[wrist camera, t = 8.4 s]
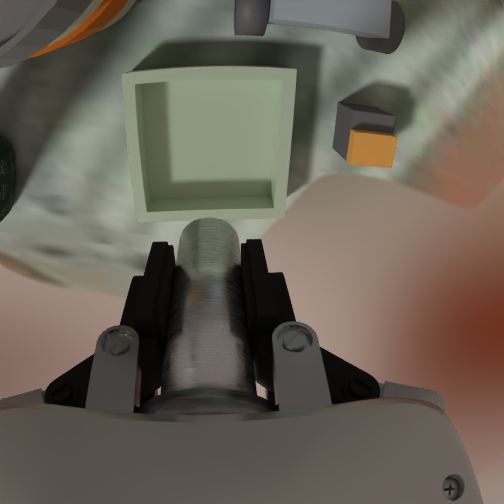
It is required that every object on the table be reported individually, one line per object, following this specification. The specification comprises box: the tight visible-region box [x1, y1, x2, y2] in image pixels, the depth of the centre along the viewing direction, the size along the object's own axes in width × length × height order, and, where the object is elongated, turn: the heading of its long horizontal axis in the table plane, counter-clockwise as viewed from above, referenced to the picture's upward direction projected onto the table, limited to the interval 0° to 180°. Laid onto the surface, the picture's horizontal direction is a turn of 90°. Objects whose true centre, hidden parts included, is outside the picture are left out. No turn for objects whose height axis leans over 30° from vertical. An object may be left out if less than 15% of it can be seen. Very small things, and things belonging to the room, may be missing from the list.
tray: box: [122, 65, 297, 223], centre depth 25 cm, size 13×13×3 cm
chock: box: [333, 103, 398, 168], centre depth 25 cm, size 4×4×4 cm
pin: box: [140, 217, 276, 415], centre depth 10 cm, size 4×4×9 cm
